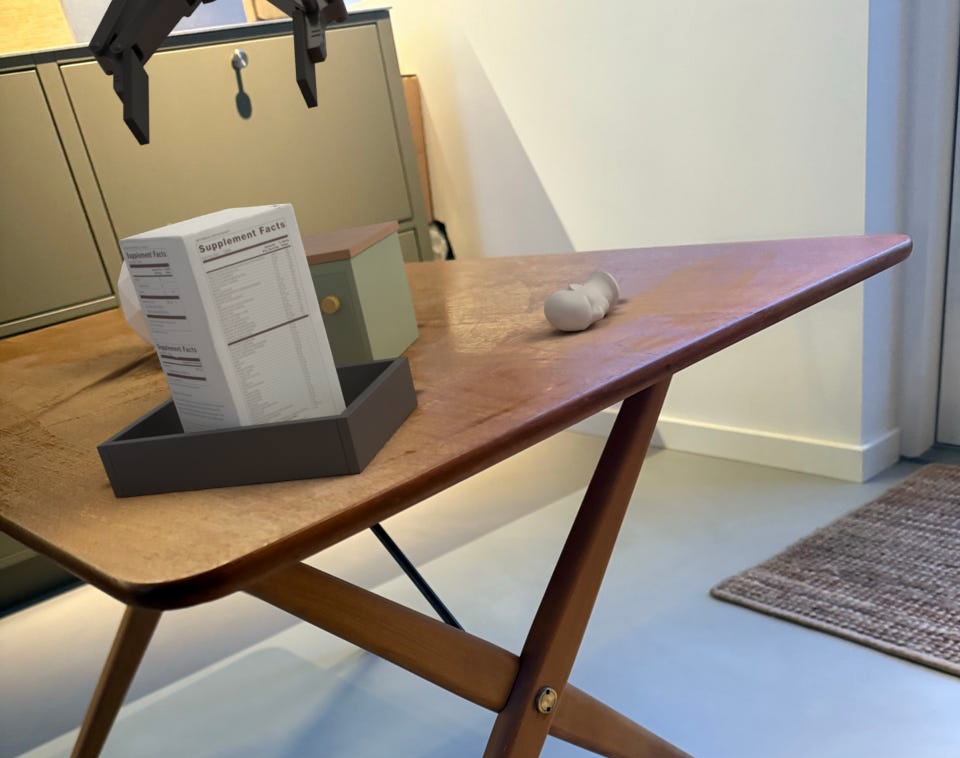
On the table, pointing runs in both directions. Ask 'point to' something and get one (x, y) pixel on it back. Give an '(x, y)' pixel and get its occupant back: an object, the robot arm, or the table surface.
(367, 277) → the cabinet
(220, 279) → the supplement box
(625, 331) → the table surface
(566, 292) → the smooth white sculpture
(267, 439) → the tray
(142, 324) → the geodesic sphere
